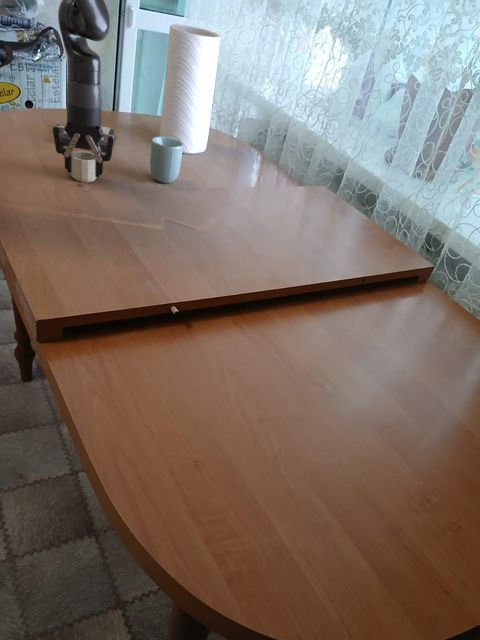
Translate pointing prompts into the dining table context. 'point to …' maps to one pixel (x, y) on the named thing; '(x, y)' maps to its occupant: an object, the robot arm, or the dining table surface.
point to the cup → (165, 158)
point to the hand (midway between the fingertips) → (84, 173)
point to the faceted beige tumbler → (83, 166)
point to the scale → (102, 145)
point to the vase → (189, 86)
